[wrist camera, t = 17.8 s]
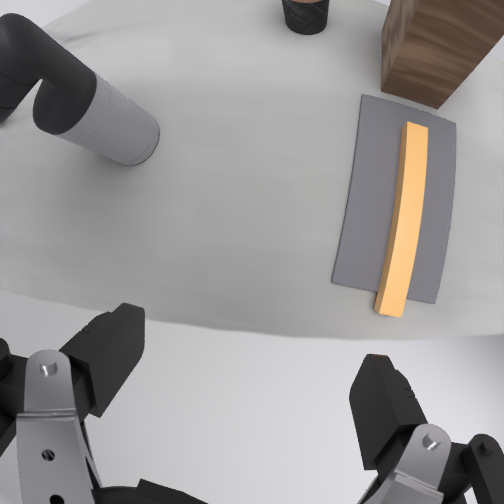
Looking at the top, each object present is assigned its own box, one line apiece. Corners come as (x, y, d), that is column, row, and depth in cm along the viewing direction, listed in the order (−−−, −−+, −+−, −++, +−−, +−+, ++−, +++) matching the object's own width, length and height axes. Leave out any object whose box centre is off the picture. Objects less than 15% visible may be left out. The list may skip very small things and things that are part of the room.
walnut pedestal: (443, 116, 36) (555, -3, 4) (374, 94, 38) (436, -74, 6) (437, 46, 35) (501, -72, 3) (376, 26, 37) (406, -114, 5)
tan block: (394, 312, 37) (401, 317, 34) (373, 308, 38) (379, 313, 35) (420, 134, 36) (427, 127, 33) (401, 129, 36) (407, 121, 33)
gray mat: (432, 302, 37) (434, 304, 36) (331, 281, 40) (331, 282, 39) (453, 125, 36) (455, 123, 35) (361, 96, 38) (362, 93, 37)
